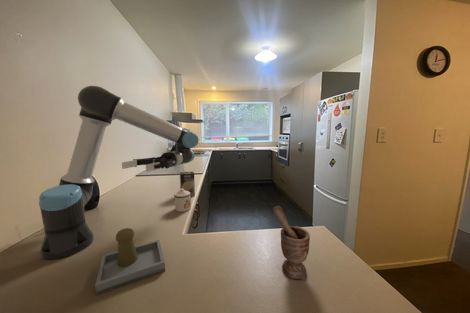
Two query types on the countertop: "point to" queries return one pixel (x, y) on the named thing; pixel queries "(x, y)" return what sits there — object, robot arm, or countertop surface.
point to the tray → (129, 267)
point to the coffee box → (187, 182)
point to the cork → (126, 247)
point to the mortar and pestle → (293, 246)
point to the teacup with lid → (182, 200)
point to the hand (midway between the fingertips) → (134, 166)
